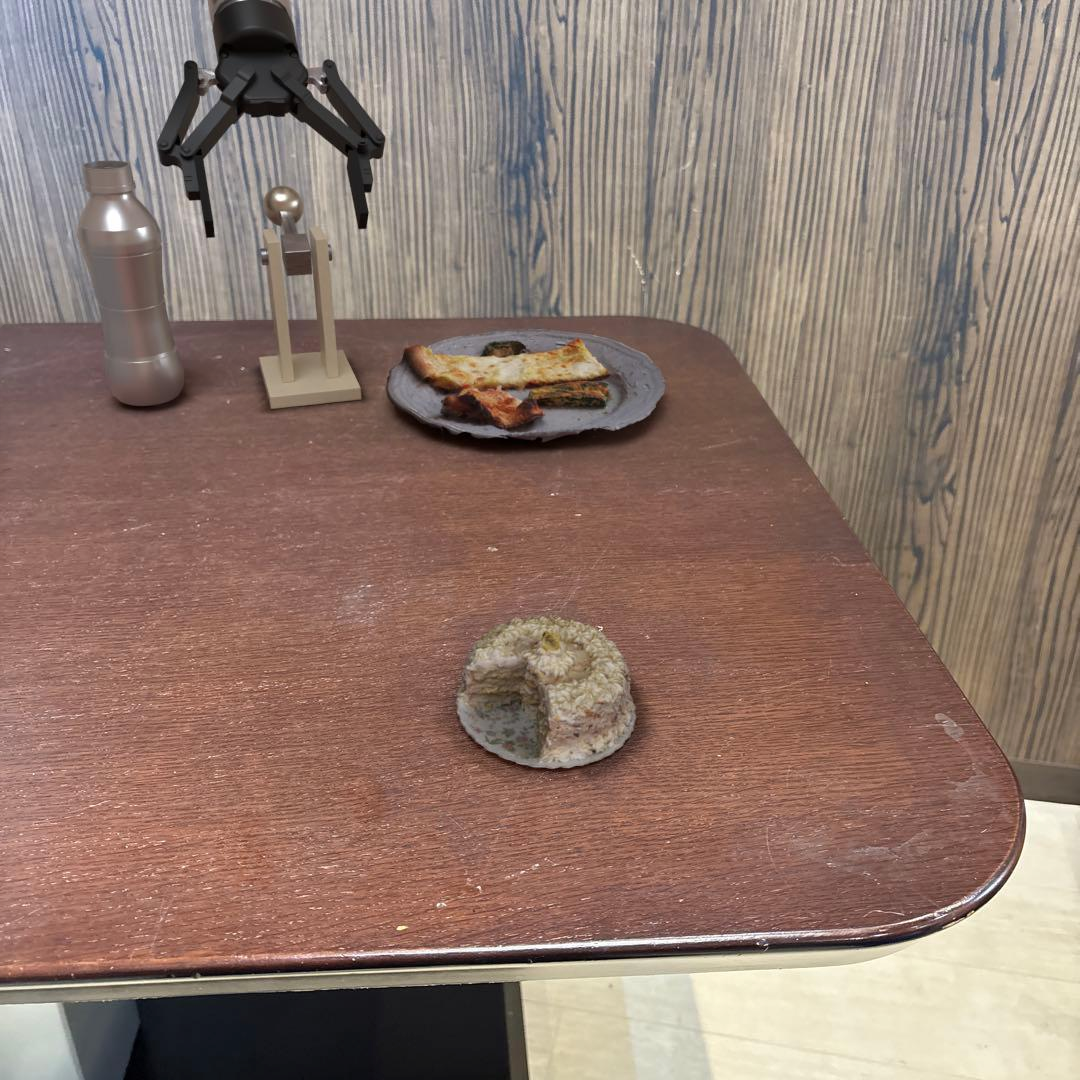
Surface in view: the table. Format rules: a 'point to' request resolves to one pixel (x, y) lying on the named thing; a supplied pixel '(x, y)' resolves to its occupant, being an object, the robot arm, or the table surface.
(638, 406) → the food plate
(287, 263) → the lever
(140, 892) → the table surface
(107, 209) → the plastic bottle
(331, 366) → the bracket
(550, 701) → the cake
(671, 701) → the table surface
